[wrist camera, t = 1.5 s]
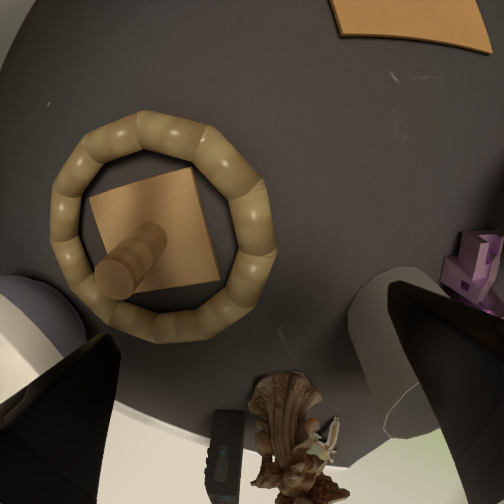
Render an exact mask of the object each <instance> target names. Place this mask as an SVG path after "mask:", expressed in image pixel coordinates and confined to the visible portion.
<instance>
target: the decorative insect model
mask: <svg viewBox="0 0 504 504" xmlns="http://www.w3.org/2000/svg"><path fill="white" fill-rule="evenodd" d="M338 421H339V417H334V421H333V422H332V423H331V425H330V427H329V429H330V430H329V434H328V440H327V442H326V443H323V442H321V441H319V438H320V439H321V438H322V437H321V436H319V435H318V434H317V433H314V432H311V433H309V436H310V438H311V440H312V443H313V445H312V448H311V449H310V450H308V451H306V452H307V453H308V454H315V455H317V456H318V457H319V458H320V459H321V460H324V461H325V462H326V463H329V464H331V463H332V462H334V460H332V459H331V458H330V457H329V456H330V454H333V453H335V452H336V451H338V450H337V449H338V448H339V447H337V448H335V449H333V446H334V445H335V443H336V442H337V437H338V436H337V435H338V432H339V425H340V422H338Z"/></svg>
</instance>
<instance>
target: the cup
mask: <svg viewBox="0 0 504 504" xmlns="http://www.w3.org/2000/svg"><path fill="white" fill-rule="evenodd" d="M398 280H402V281H405V282H408V283H410V284H413V285H416V286H419V287H421V288H424V289H427V290H429V291H432V292H435V293H437V294H440V295H443V296H445V297H448V298H450V297H449V296H448V295H447V294H446V293H445V292H444V291H443V290H442V289H441V288H440V287H439V286H438V285H437V283H436V282H435V281H434V280H433V279H432V278H431V277H430V276H429V275H427V274H426V273H424V272H423V271H421V270H420V269H418V268H417V267H401V266H396V267H394V268H392V269H389V270H387V271H385V272H382V273H380V274H378V275H375V276H374V277H373V278H372V279H371V280H370V281H369V282H368V283H367V284H366V285H365V286H364V287H363V288H361V289H360V290H359V291H358V292H357V294H356V296H355V298H354V300H353V302H352V304H351V306H350V308H349V310H348V332H349V334H350V337H351V340H352V342H353V345H354V348H355V350H356V353H357V356H358V359H359V361H360V364H361V367H362V370H363V372H364V375H365V378H366V381H367V384H368V387H369V390H370V393H371V396H372V399H373V402H374V405H375V408H376V411H377V414H378V417H379V420H380V423H381V426H382V429H383V430H384V431H385V433H386V434H387V435H388V436H389V437H390V438H399V439H409V438H413V437H417V436H421V435H424V434H428V433H430V432H432V431H434V430H436V429H438V428H440V426H439V424H438V421H437V419H436V417H435V415H434V412H433V410H432V408H431V406H430V404H429V402H428V399H427V397H426V395H425V393H424V391H423V389H422V387H421V385H420V383H419V381H418V379H417V377H416V375H415V373H414V371H413V369H412V367H411V365H410V363H409V361H408V359H407V357H406V355H405V353H404V351H403V348H402V346H401V344H400V341H399V338H398V336H397V333H396V331H395V328H394V326H393V323H392V321H391V318H390V316H389V314H388V310H387V292H388V285H389V283H391V282H394V281H398Z"/></svg>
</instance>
